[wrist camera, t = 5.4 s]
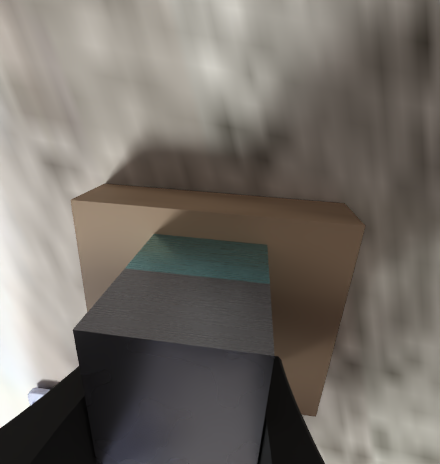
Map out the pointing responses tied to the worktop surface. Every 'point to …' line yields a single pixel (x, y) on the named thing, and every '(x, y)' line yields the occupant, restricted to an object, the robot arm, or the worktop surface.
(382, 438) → the worktop surface
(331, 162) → the worktop surface
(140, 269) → the block
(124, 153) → the worktop surface
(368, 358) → the worktop surface
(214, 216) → the tan flat block
